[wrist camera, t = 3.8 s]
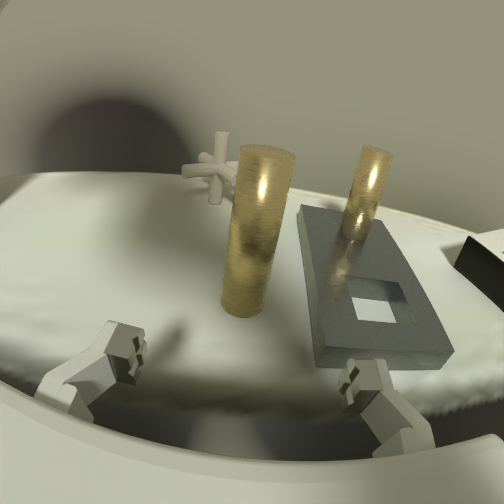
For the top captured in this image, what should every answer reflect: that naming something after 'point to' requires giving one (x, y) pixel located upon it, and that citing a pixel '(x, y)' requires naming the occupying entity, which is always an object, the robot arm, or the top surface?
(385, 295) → the bolt plate
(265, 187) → the brass pin
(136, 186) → the top surface
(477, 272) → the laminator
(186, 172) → the pipe connector
